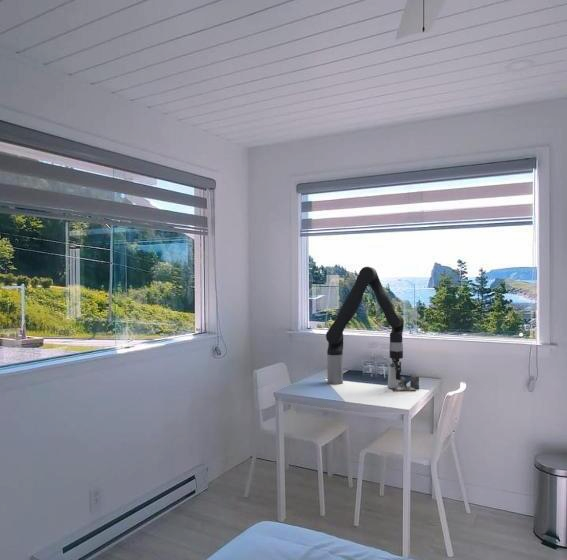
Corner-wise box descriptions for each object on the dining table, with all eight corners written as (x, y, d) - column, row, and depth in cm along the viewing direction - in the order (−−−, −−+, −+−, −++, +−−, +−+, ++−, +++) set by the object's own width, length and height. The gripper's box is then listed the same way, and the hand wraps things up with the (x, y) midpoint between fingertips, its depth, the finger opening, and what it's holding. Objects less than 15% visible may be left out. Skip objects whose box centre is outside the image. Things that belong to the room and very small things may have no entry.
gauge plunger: (405, 388, 271) (405, 381, 271) (401, 383, 283) (401, 376, 283) (407, 388, 271) (407, 381, 271) (403, 383, 283) (403, 376, 283)
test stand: (393, 391, 270) (393, 378, 270) (389, 385, 283) (389, 374, 283) (421, 391, 269) (421, 378, 269) (415, 385, 282) (415, 373, 282)
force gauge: (389, 387, 276) (390, 365, 276) (387, 385, 281) (389, 363, 281) (401, 388, 276) (403, 366, 276) (399, 386, 281) (401, 364, 281)
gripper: (387, 347, 286) (387, 375, 286) (391, 351, 272) (392, 380, 272) (400, 347, 285) (400, 375, 286) (405, 351, 271) (405, 380, 271)
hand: (396, 377), depth 279 cm, fingers open, 8 cm apart
